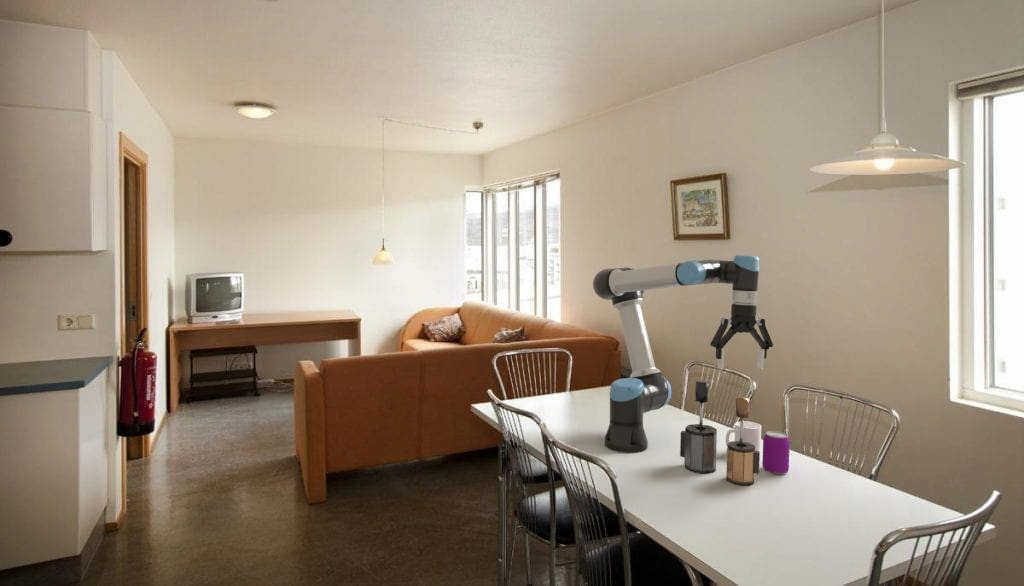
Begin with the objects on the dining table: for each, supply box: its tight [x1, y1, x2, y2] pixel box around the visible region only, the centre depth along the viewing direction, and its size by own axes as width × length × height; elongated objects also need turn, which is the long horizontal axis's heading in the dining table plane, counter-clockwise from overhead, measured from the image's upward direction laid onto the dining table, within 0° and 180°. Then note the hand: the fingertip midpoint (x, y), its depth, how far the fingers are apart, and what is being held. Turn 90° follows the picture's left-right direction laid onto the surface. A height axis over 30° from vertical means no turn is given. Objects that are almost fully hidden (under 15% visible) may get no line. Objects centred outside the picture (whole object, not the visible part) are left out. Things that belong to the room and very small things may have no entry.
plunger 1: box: [694, 380, 710, 430], centre depth 190 cm, size 7×7×18 cm
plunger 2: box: [735, 396, 750, 447], centre depth 180 cm, size 5×5×18 cm
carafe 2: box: [725, 440, 761, 487], centre depth 180 cm, size 9×8×11 cm
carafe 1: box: [679, 423, 718, 475], centre depth 191 cm, size 11×10×13 cm
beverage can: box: [761, 430, 791, 476], centre depth 188 cm, size 8×8×12 cm
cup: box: [725, 420, 762, 453], centre depth 204 cm, size 8×12×10 cm
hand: (740, 368), depth 193 cm, fingers open, 13 cm apart
